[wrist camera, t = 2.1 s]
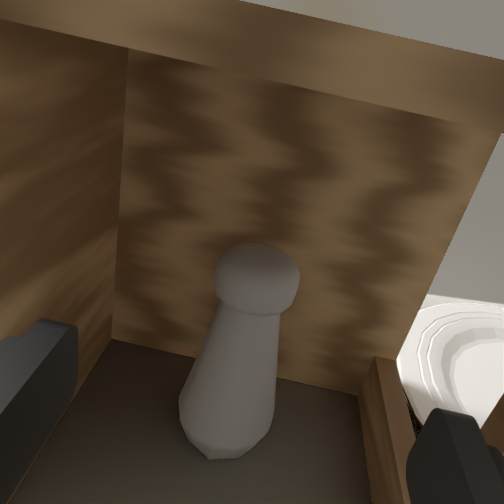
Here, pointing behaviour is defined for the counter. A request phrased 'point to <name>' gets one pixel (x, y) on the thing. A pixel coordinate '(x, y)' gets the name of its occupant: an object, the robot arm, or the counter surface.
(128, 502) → the counter surface
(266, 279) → the salt shaker
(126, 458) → the counter surface
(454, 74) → the open-side box
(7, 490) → the robot arm
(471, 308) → the plate
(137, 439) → the counter surface
